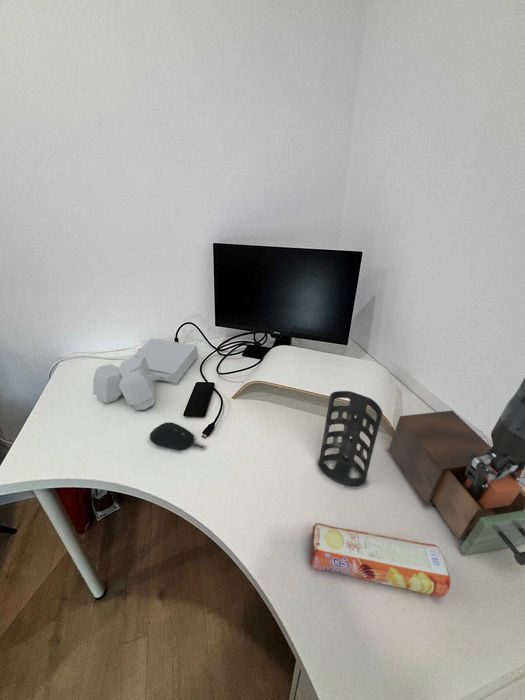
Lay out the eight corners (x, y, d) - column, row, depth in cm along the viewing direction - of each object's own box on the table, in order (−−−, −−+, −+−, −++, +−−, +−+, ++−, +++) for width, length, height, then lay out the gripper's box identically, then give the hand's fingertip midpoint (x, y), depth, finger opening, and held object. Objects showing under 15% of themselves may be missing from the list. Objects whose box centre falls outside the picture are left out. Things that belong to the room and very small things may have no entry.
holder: (314, 475, 66) (327, 403, 58) (319, 453, 73) (332, 385, 65) (364, 492, 63) (386, 417, 55) (365, 467, 70) (385, 397, 61)
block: (487, 480, 56) (498, 463, 54) (510, 505, 52) (522, 487, 50) (464, 484, 56) (474, 466, 53) (485, 509, 51) (497, 491, 49)
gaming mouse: (197, 457, 71) (195, 446, 69) (145, 442, 75) (142, 431, 73) (209, 438, 76) (207, 427, 74) (160, 425, 80) (157, 414, 78)
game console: (200, 355, 109) (194, 326, 101) (151, 420, 84) (139, 388, 77) (153, 347, 113) (145, 319, 106) (94, 407, 89) (77, 375, 81)
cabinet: (482, 497, 63) (505, 460, 57) (424, 505, 61) (442, 469, 55) (437, 444, 75) (452, 410, 69) (388, 450, 73) (399, 415, 68)
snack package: (308, 573, 50) (312, 553, 47) (310, 533, 56) (314, 513, 52) (442, 605, 47) (456, 586, 43) (430, 560, 52) (442, 539, 49)
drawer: (550, 574, 50) (582, 544, 45) (486, 587, 48) (512, 557, 43) (469, 480, 65) (486, 450, 60) (418, 487, 64) (432, 457, 59)
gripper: (512, 449, 41) (468, 519, 50) (596, 438, 43) (540, 507, 52) (471, 413, 47) (438, 480, 56) (546, 405, 49) (503, 471, 58)
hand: (487, 493), depth 54 cm, fingers closed on block, 5 cm apart
